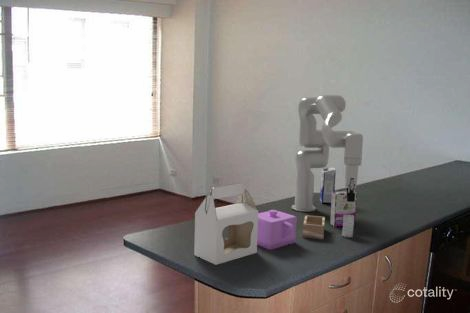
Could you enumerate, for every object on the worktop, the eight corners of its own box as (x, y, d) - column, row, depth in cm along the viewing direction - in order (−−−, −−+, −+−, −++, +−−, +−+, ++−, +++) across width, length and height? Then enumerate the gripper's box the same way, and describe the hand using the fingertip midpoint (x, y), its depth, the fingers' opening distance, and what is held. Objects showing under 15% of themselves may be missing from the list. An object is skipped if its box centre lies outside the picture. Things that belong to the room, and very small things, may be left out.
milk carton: (333, 204, 287) (336, 169, 283) (321, 203, 287) (323, 168, 283) (331, 201, 294) (333, 166, 290) (319, 200, 294) (322, 166, 290)
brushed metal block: (342, 233, 235) (343, 214, 233) (352, 234, 234) (353, 215, 232) (342, 236, 230) (343, 217, 229) (352, 237, 229) (353, 218, 228)
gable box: (235, 243, 216) (237, 178, 212) (257, 252, 207) (260, 184, 202) (193, 255, 201) (194, 185, 197) (215, 265, 192) (217, 192, 187)
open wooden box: (304, 227, 242) (305, 215, 241) (324, 229, 240) (324, 216, 239) (302, 237, 227) (303, 224, 226) (323, 239, 226) (324, 226, 225)
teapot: (261, 231, 235) (263, 201, 233) (303, 246, 217) (305, 213, 214) (237, 237, 225) (238, 206, 222) (279, 253, 207) (280, 219, 204)
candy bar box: (350, 223, 252) (352, 190, 249) (355, 226, 247) (357, 192, 244) (329, 224, 249) (331, 191, 246) (334, 227, 244) (336, 193, 241)
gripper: (343, 157, 235) (341, 194, 238) (344, 163, 219) (342, 203, 221) (360, 158, 234) (358, 195, 237) (362, 164, 217) (360, 204, 220)
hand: (350, 199), depth 229 cm, fingers open, 9 cm apart
